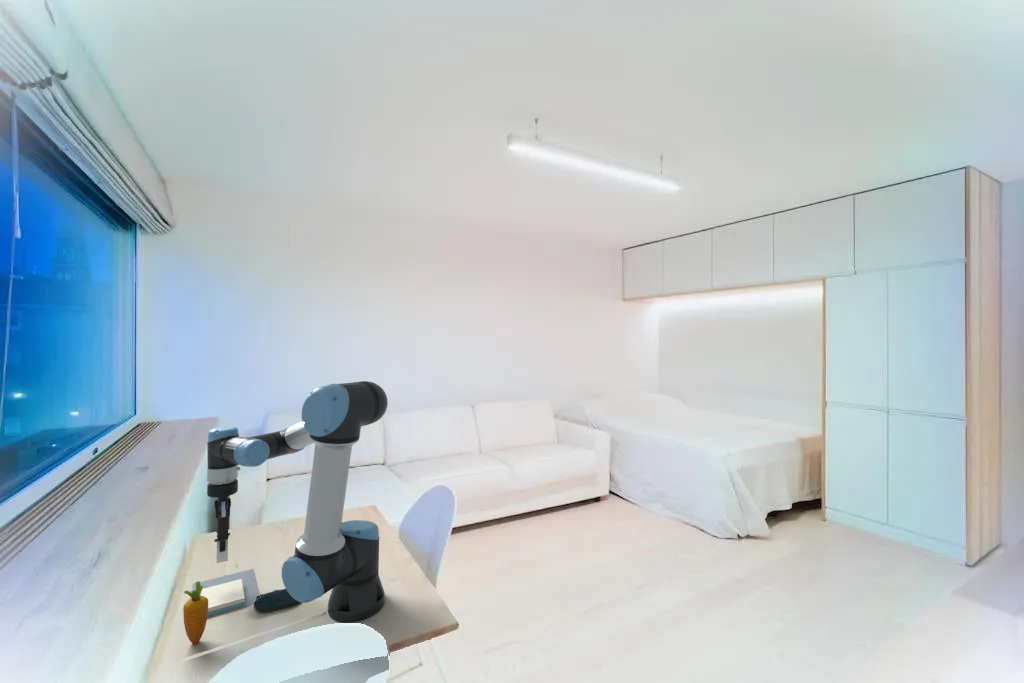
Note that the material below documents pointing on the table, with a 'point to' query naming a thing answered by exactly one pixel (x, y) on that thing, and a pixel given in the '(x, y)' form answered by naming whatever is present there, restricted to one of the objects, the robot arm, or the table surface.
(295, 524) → the table surface
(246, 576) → the mat
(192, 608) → the carrot
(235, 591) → the board
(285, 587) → the robot arm
